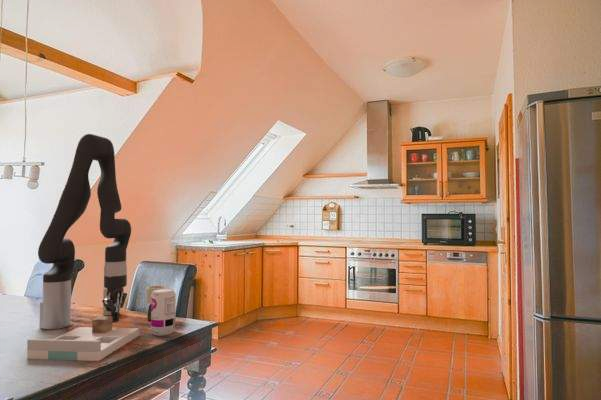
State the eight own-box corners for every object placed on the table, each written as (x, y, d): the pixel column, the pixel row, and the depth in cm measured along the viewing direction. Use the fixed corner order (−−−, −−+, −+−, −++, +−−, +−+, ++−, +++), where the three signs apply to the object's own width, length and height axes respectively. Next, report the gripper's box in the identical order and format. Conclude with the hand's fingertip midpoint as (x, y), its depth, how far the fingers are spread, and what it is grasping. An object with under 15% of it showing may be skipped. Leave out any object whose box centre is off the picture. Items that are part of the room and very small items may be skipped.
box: (111, 315, 167) (111, 288, 168) (102, 315, 168) (102, 288, 169) (119, 312, 173) (119, 286, 173) (110, 312, 173) (111, 286, 174)
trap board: (27, 358, 117) (27, 339, 117) (79, 334, 141) (79, 318, 141) (98, 360, 115) (98, 341, 116) (138, 335, 139) (139, 319, 139)
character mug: (169, 320, 160) (170, 287, 160) (152, 323, 155) (152, 289, 155) (158, 315, 168) (158, 284, 168) (141, 318, 163) (141, 286, 163)
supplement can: (151, 337, 137) (152, 293, 138) (150, 331, 145) (150, 289, 145) (176, 334, 141) (176, 291, 141) (173, 328, 148) (174, 287, 149)
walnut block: (92, 332, 134) (92, 319, 134) (99, 329, 139) (100, 316, 139) (104, 333, 134) (105, 319, 134) (112, 329, 138) (112, 316, 138)
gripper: (115, 271, 152) (114, 317, 151) (94, 276, 138) (94, 327, 138) (134, 271, 151) (133, 317, 150) (115, 276, 138) (115, 327, 137)
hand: (114, 322), depth 144 cm, fingers closed
